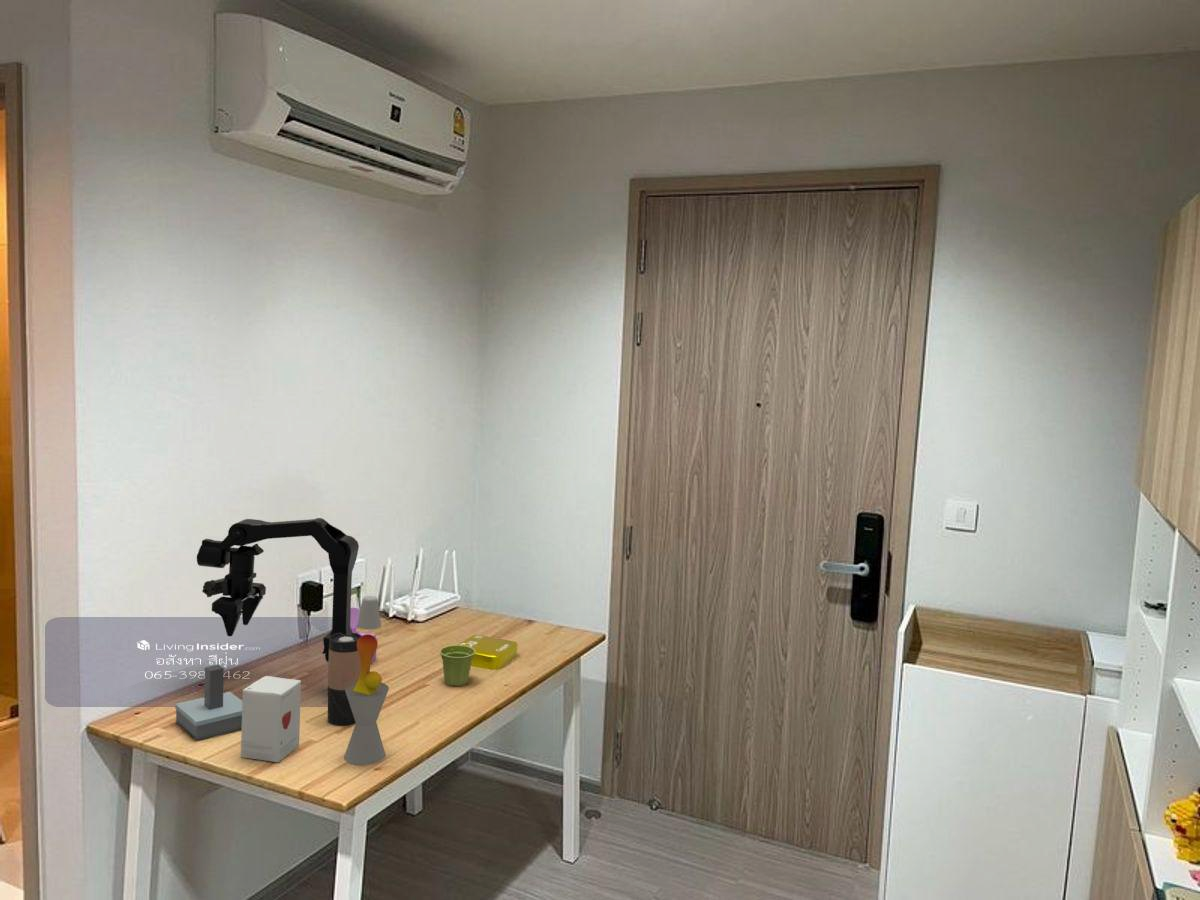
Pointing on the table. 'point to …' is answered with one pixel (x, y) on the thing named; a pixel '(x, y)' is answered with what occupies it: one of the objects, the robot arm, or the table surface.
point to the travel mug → (342, 676)
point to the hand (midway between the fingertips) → (237, 630)
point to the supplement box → (270, 718)
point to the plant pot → (457, 664)
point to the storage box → (209, 727)
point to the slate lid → (211, 701)
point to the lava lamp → (366, 693)
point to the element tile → (491, 651)
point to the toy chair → (354, 623)
